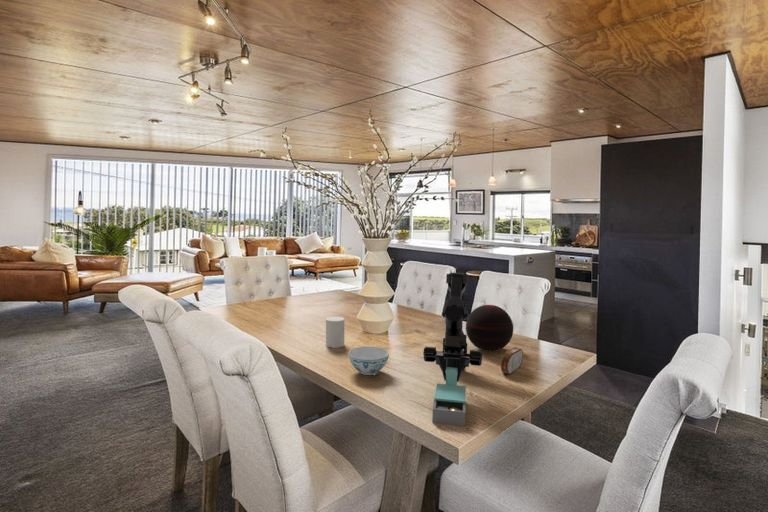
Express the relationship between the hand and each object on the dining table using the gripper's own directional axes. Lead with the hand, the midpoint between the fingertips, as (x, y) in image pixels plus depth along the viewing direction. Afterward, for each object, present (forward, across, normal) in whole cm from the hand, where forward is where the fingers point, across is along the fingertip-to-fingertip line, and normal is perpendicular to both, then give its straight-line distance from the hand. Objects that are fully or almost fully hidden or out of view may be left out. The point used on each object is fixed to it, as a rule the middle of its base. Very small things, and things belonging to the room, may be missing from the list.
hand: (451, 380), depth 136 cm
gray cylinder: (-28, -53, +38) cm, 71 cm away
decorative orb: (-35, +14, +44) cm, 58 cm away
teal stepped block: (+7, 0, +1) cm, 7 cm away
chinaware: (-8, -31, +17) cm, 36 cm away
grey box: (+13, 0, -3) cm, 13 cm away
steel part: (+14, -2, -5) cm, 15 cm away
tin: (-18, +22, +28) cm, 39 cm away
